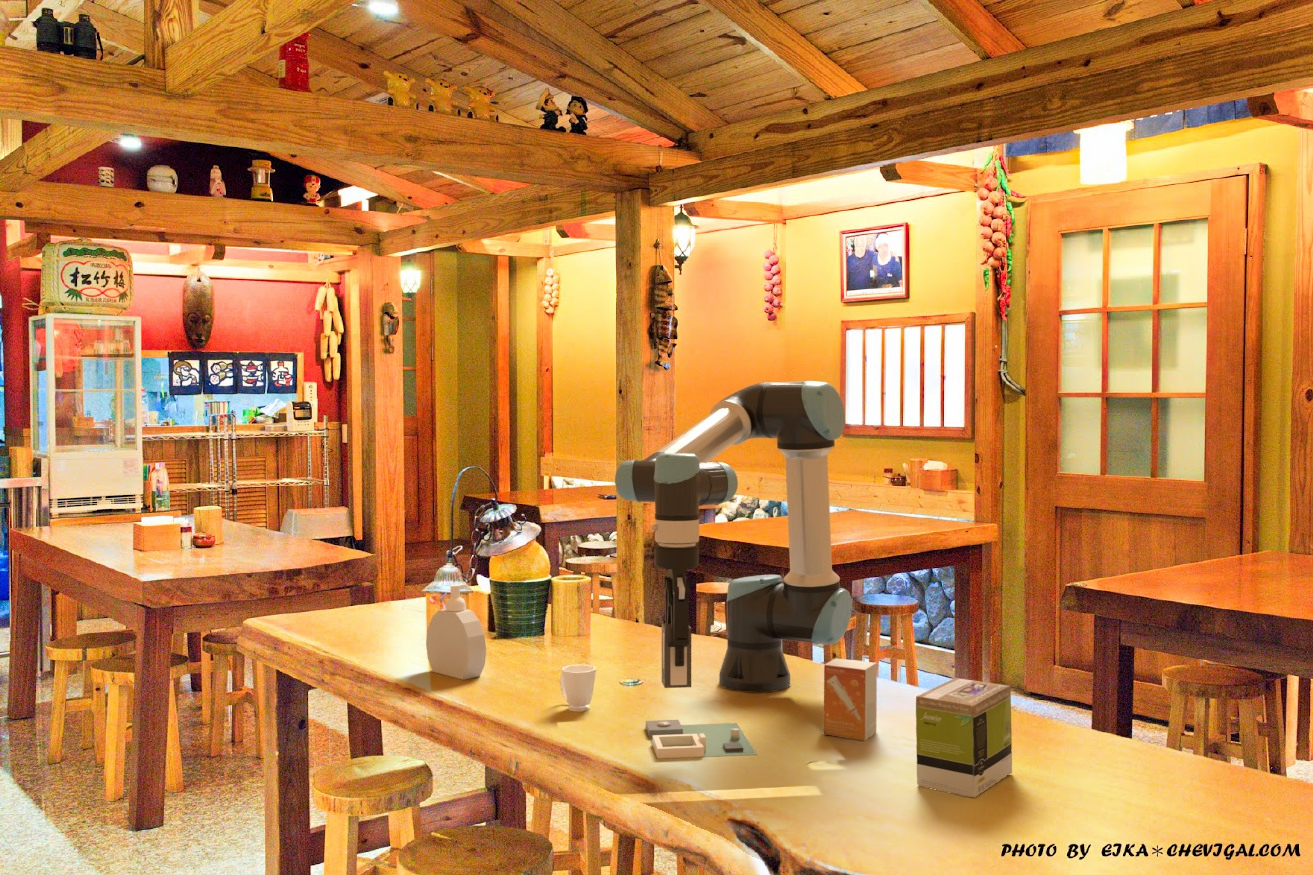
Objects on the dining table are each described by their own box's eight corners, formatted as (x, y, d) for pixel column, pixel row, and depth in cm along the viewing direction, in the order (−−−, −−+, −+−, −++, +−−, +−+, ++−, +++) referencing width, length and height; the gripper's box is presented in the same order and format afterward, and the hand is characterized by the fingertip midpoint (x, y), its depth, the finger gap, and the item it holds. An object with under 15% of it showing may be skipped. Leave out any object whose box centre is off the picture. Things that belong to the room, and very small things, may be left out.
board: (736, 729, 212) (736, 714, 212) (757, 761, 194) (757, 745, 193) (645, 732, 211) (645, 717, 210) (657, 765, 192) (657, 749, 192)
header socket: (701, 742, 200) (701, 728, 200) (708, 756, 193) (708, 742, 193) (652, 744, 199) (652, 730, 199) (657, 758, 192) (657, 744, 192)
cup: (573, 715, 222) (572, 674, 222) (546, 704, 230) (546, 664, 230) (603, 709, 227) (603, 669, 226) (576, 699, 235) (576, 659, 234)
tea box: (955, 762, 193) (956, 675, 192) (1013, 775, 186) (1014, 684, 186) (914, 786, 181) (914, 693, 181) (974, 800, 175) (975, 704, 174)
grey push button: (678, 733, 210) (678, 718, 210) (685, 748, 201) (685, 733, 201) (645, 734, 210) (645, 719, 209) (651, 750, 200) (651, 734, 200)
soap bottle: (488, 677, 253) (487, 587, 252) (469, 682, 249) (468, 590, 248) (445, 666, 264) (444, 580, 263) (425, 670, 260) (424, 582, 259)
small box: (823, 735, 209) (823, 664, 208) (835, 726, 214) (835, 657, 214) (865, 741, 205) (865, 669, 204) (877, 732, 210) (877, 662, 210)
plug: (687, 680, 198) (687, 623, 198) (691, 687, 193) (691, 628, 193) (661, 681, 197) (661, 623, 197) (664, 688, 193) (664, 628, 193)
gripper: (649, 538, 203) (649, 669, 204) (660, 550, 186) (660, 694, 186) (691, 538, 204) (690, 668, 205) (706, 550, 187) (706, 693, 187)
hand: (676, 680), depth 195 cm, fingers closed on plug, 4 cm apart
